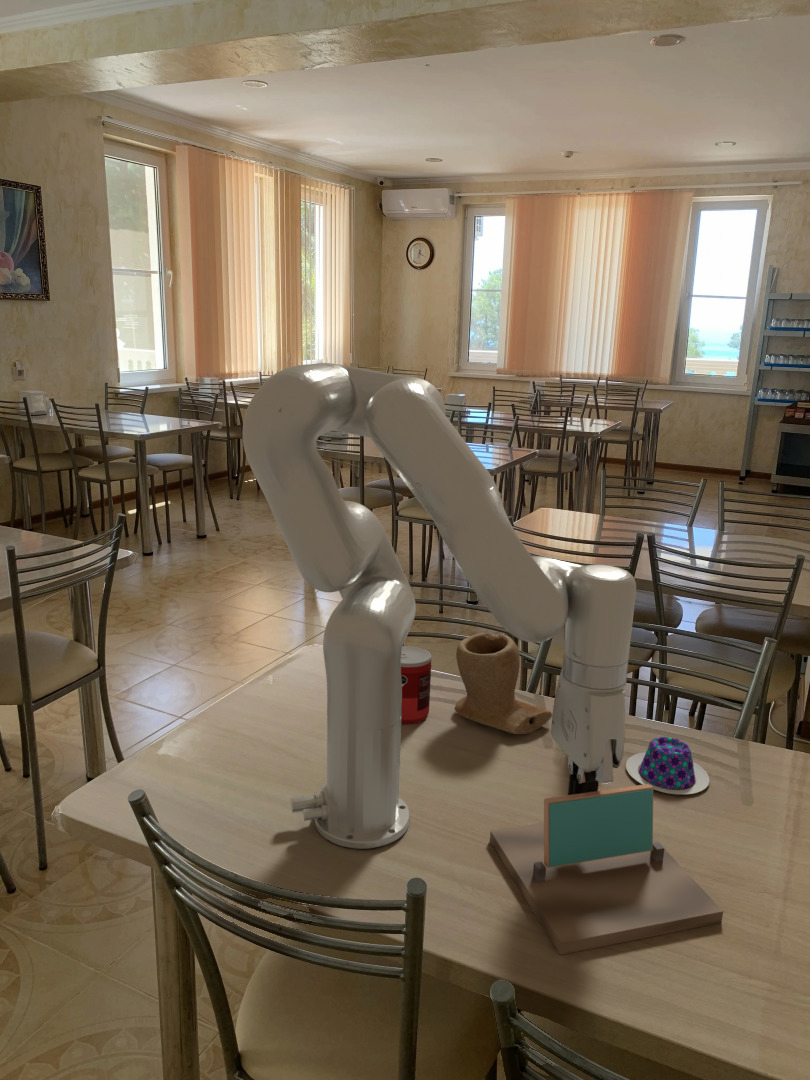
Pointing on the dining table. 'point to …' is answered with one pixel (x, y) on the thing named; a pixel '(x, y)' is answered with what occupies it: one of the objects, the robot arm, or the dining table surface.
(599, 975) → the dining table surface
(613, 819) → the tile
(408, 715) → the canned food
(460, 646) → the clay platform pipe
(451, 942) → the dining table surface
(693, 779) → the patterned brimmed hat
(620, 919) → the board
